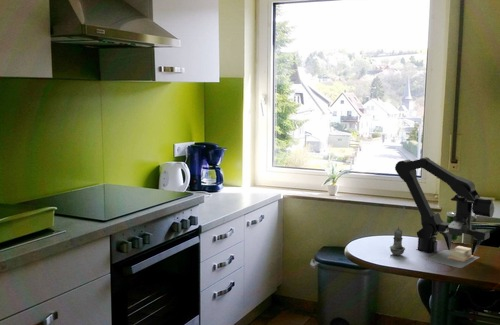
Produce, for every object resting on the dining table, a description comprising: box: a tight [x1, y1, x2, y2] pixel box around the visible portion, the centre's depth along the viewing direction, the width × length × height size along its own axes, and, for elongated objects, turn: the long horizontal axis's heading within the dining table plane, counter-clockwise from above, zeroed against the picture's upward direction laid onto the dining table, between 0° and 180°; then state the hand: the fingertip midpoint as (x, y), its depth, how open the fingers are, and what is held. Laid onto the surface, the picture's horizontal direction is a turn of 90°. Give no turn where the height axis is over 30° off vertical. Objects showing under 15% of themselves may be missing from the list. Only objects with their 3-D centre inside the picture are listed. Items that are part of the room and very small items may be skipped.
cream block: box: [449, 245, 472, 261], centre depth 204 cm, size 8×5×3 cm, turn 136°
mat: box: [424, 249, 481, 269], centre depth 202 cm, size 14×18×1 cm
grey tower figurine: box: [389, 226, 406, 257], centre depth 204 cm, size 6×6×12 cm
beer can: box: [445, 211, 459, 242], centre depth 229 cm, size 5×5×12 cm
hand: (460, 252), depth 204 cm, fingers open, 9 cm apart
